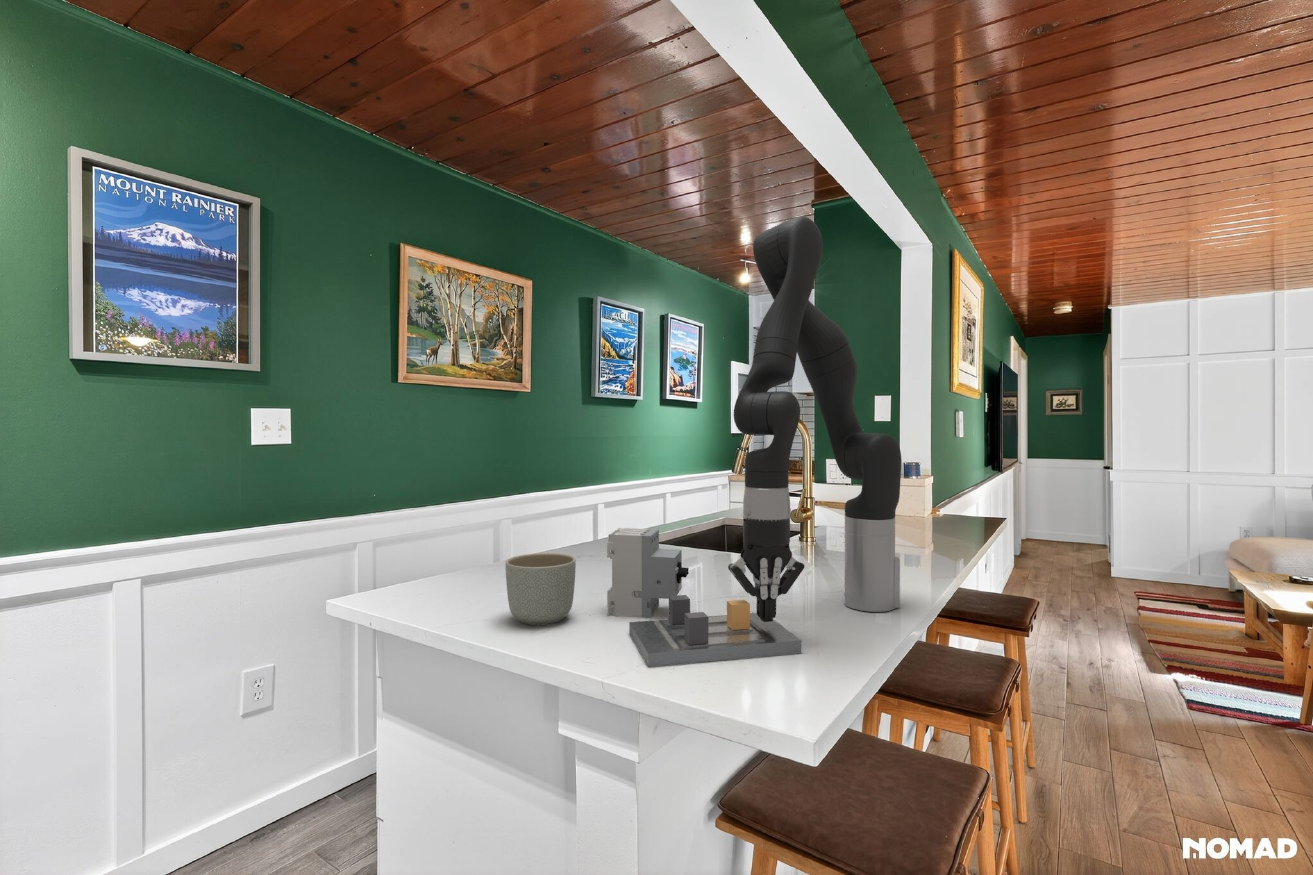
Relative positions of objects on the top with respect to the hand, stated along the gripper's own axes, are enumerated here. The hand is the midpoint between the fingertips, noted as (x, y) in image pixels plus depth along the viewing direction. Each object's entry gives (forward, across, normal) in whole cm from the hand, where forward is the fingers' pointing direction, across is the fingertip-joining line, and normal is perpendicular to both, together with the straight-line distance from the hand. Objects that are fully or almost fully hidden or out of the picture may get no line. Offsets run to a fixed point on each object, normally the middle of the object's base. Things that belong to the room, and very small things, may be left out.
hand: (766, 620), depth 104 cm
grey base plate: (+3, +9, 0) cm, 10 cm away
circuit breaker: (+3, +15, -19) cm, 25 cm away
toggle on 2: (+1, +13, +5) cm, 14 cm away
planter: (+3, +35, -19) cm, 40 cm away
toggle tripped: (+1, +5, 0) cm, 5 cm away
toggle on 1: (+1, +13, -5) cm, 14 cm away
